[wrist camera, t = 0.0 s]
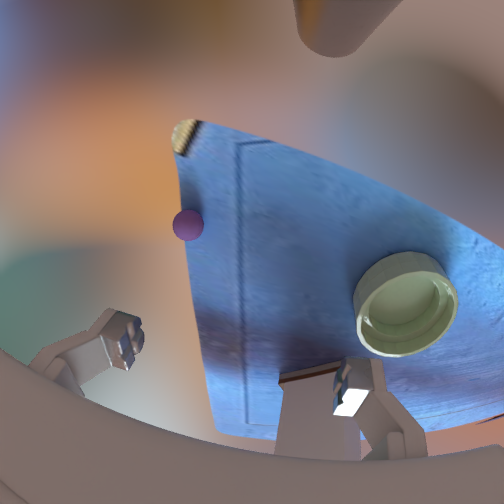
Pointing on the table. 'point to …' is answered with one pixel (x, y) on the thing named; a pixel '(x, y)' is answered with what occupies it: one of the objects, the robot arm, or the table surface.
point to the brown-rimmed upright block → (314, 418)
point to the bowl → (403, 304)
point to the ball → (188, 225)
